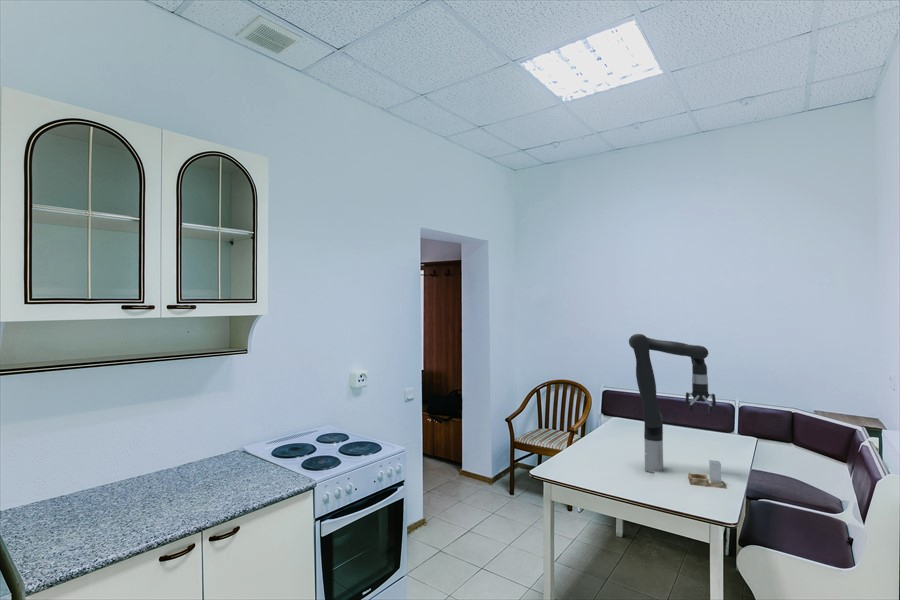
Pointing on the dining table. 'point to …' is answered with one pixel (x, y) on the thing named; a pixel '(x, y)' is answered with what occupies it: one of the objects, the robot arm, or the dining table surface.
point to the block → (715, 472)
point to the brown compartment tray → (703, 481)
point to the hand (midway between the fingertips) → (700, 412)
